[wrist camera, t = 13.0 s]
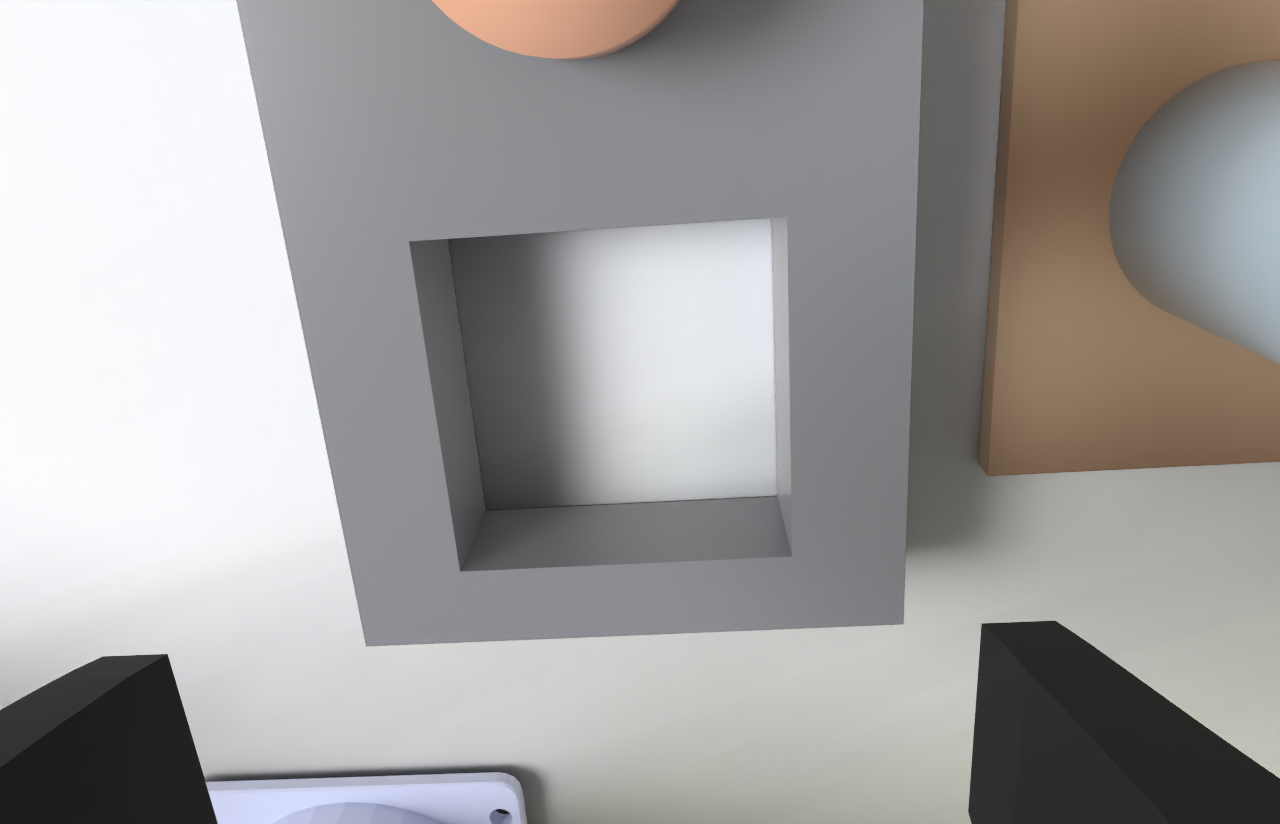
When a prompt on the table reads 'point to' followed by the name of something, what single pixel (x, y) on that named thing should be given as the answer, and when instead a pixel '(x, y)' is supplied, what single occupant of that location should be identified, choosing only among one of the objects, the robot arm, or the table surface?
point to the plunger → (558, 24)
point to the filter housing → (584, 200)
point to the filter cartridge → (1208, 207)
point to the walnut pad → (1105, 250)
